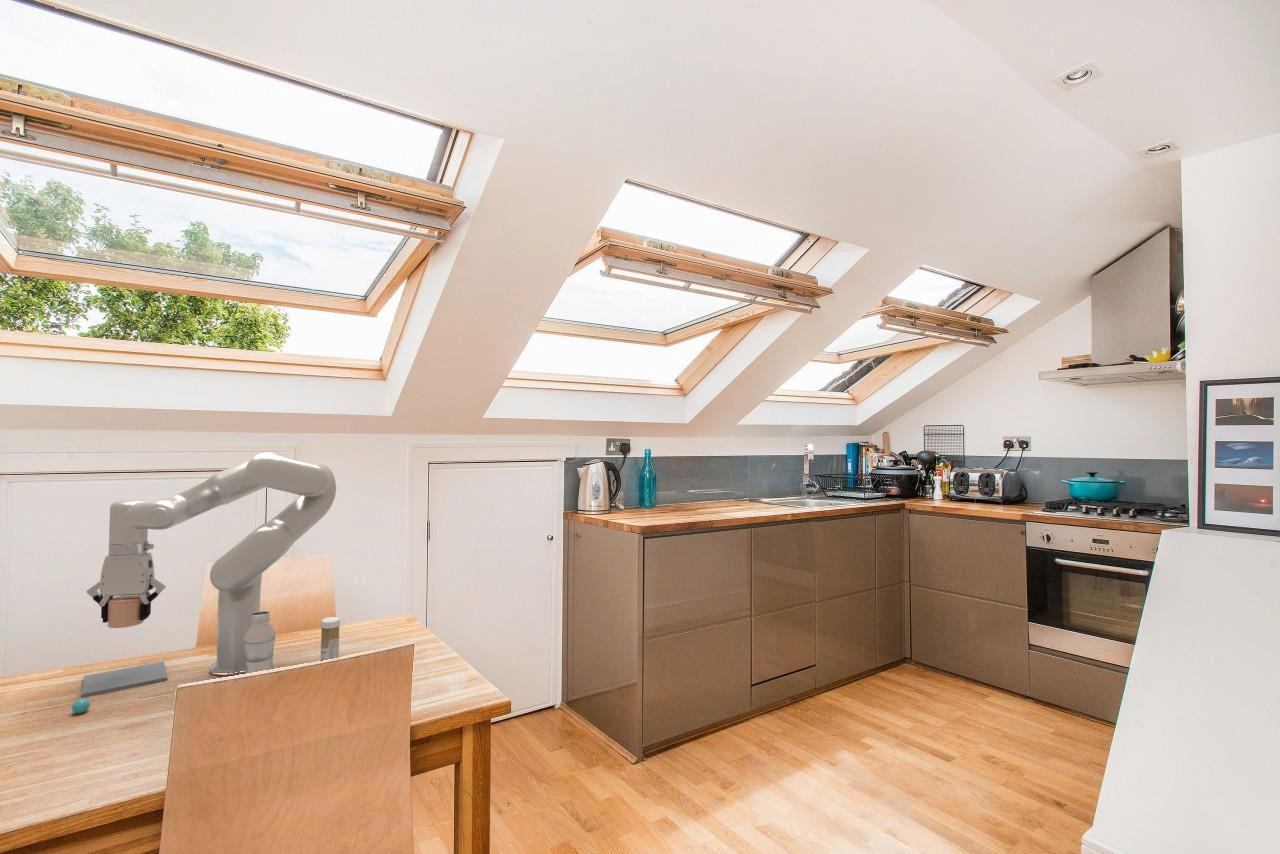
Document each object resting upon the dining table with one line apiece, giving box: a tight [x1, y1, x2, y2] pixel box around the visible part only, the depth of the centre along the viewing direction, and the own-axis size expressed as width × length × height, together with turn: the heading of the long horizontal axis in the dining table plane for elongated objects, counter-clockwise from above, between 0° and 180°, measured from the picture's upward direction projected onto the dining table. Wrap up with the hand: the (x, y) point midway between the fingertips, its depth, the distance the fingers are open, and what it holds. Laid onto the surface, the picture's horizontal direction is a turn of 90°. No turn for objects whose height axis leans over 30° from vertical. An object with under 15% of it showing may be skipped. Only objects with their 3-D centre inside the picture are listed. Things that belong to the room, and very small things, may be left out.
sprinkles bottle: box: [320, 616, 341, 662], centre depth 163 cm, size 5×5×13 cm
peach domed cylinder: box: [107, 595, 145, 629], centre depth 155 cm, size 7×7×6 cm
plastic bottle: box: [244, 610, 277, 674], centre depth 146 cm, size 6×7×20 cm
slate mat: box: [81, 661, 168, 698], centre depth 155 cm, size 16×14×1 cm
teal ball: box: [71, 698, 91, 714], centre depth 137 cm, size 3×3×3 cm
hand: (126, 619), depth 155 cm, fingers closed on peach domed cylinder, 7 cm apart
